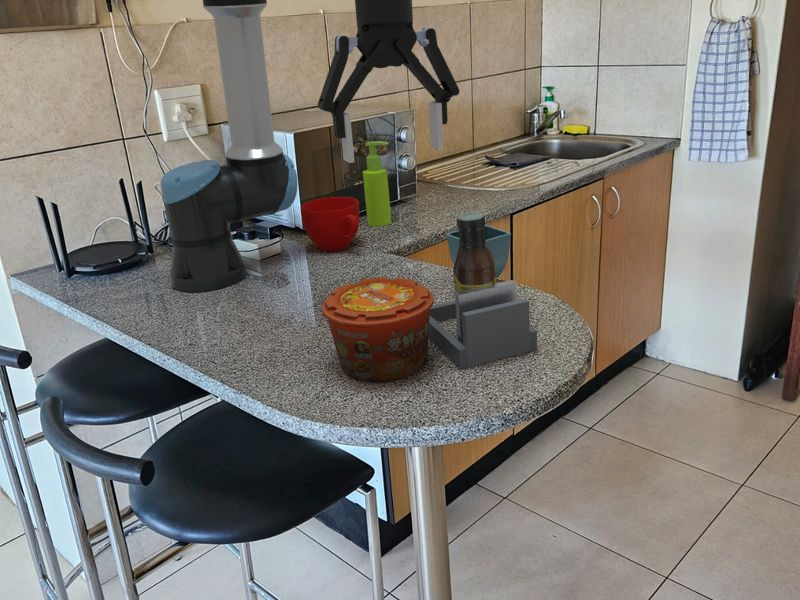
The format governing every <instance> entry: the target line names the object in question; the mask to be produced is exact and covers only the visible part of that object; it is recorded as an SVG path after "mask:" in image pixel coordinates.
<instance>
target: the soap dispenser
mask: <svg viewBox="0 0 800 600" xmlns="http://www.w3.org/2000/svg"><path fill="white" fill-rule="evenodd" d="M389 144H390V143H389V142H387V141H383V140H382V141H381V140H375V141H368V142H365V147H368V151H369V154H368V155H367V156H365V157H366V158H365V159H366V166H367V168H366V169H365V170H363V171H362V180H363V189H364V200H365V209H366V218H367V225H368V226H369V227H384V226H389V225H390V224H392V213H391V203H390V191H389V180H388V179H389V178H388V169H386V168H384V167H382V161H381V160H382V159H381V158H382V157H381V155H380V154H378V153H377V146H383V147H387V146H388V145H389Z"/></svg>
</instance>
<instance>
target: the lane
mask: <svg viewBox="0 0 800 600" xmlns="http://www.w3.org/2000/svg"><path fill="white" fill-rule="evenodd" d="M451 319H456V301H455V300H452V301H447V302H442V303H439V304H433V306H432V307H431V308H430V321H429V338H428V340H429V341H430V342H432V344H434V345H435V346H436V347H437V348H438V349H439V350H440V352H442V353H443V355H445V356H446V357H447V358H448V359H449V360H451V362H452V363H453V364H454V365H455V366H456V367H458V369H459V370H463V369H467V368H470V367H475V366H478V365H483V364H486V363H491V362H495V361H498V360H502V359H507V358H510V357H514V356H518V355H523V354H525V353H530V352H534V351H537V350H538V331H537V330H536V329H535V328H533V327H532V326H531V325H530V324H531V323H530V301H529V300H528V299H527V298H521V299H517V300H516V301H512V302H507V303H503V304H499V305H494V306H490V307H486V308H481V309H477V310H472V311H468V312H464V313H462V325H463V344H462V343H460V342H459V341H458V339H457V338H456V337H455V336H454V335H453V334H452V333H451V332H450V331H448V330H447V329H446V328H445V327H444V326H442V324H440V323H439V322H442V320H443V321H447V320H451ZM438 321H439V322H438Z"/></svg>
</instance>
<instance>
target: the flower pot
mask: <svg viewBox="0 0 800 600" xmlns="http://www.w3.org/2000/svg"><path fill="white" fill-rule="evenodd" d="M484 230H485V231H484V232H485V240H486V243H485V245H486V246H487V248H488V249H489V250H490V251H491V254H492V255H493V257H494V261H495V273H496V279H498V278H499V277H500V276H501V275H502V273H503V271H504V270H505V268H506V265H507V263H508V259H509V255H510V254H509V253H510V246H511V235H512V233H511V232H509V231H506V230H502V229H499V228H497V227H493V226H489V225H487V224H485V226H484ZM445 235H446V241H447V246H448V251H449V254H450V255H449V256H450V259H451V262H452V264H453V265H454V264H455V261H456V257H457V253H458V249H459V246H460V245H459V241H460V240H459V229H458V230H455V231H451V232H449V233H446V234H445Z"/></svg>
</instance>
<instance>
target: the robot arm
mask: <svg viewBox="0 0 800 600" xmlns="http://www.w3.org/2000/svg"><path fill="white" fill-rule="evenodd" d="M202 5H203V8H204V9H205V10H206V11H207V12H208V13H209V14H210V15H211V16H212V18H213V23H214V29H215V37H216V43H217V52H218V53H217V54H218V59H219V64H220V65H219V66H220V73H221V79H222V80H221V81H222V87H223V95H224V100H225V108H226V116H227V123H228V128H229V137H230V146H229V147H228V148H227V150H226V151H225V153H224V157H225V163H226V164H222V165H221V164H220V163H219V162H218V161H217V160H215V159H214V160H213V159H204V160H203V159H202V160H200V161H194V162H193V161H192V162H189V163H186V164H182V165H179V166H177V167H175V168H173V169H170V170H168V171H167V172H166V173H165V174H164V175H163V176H162V177H161V178H160V190H161V200H162V203H163V205H164V209H165V214H166V219H167V224H168V229H169V234H170V238H171V243H172V248H173V249H172V256H171V257H172V258H171V264H170V265H171V266H170V271H169V272H170V274H169V275H170V276H169V277H170V281H171V286H172V287H173V289H176V290H178V291H182V292H190V293H191V292H205V291H207V292H208V291H213V290H217V289H222V288H225V287H228V286H231V285H234V284H236V283H238V282H240V281H242V280H243V279H244V278H245V277H246V276H247V273H248V272H247V265H246V263H245V260H244V258H243V256H242V254H241V252H240V250H239V249H238V247H237V245H236V243H235V242H234V240H233V237H232V233H231V231H232V230H231V224H233V223H238V222H243V221H247V220H250V219H251V220H252V219H255V218H259V217H265V216H272V215H275V214H277V213H279V212H284V211H286V210H288V209H289V208H290V207H291V206H292V204H293V203H294V202H295V201H296V197H297V193H298V174H297V170H296V169H295V165H294V162H293V159H291V158H290V156H289V155H287V154H284V150H283V147H281V146H280V145H279V144H277V142H276V141H275V137H274V127H273V119H272V117H273V116H272V109H271V102H270V101H271V100H270V92H269V91H270V89H269V83H268V74H267V64H266V56H265V46H264V40H263V39H264V38H263V32H262V31H263V30H262V29H263V28H262V22H261V21H262V20H261V13H262V12H263V11H264V10H265V8H266V7H267V5H268V2H267V0H202ZM354 7H355V17H356V19H355V20H356V27H357V32H356V36H355V37H354V36H346V35H336V36H335V38H334V54H333V58H332V61H331V63H330V67H329V70H328V72H327V75H326V79H325V82H324V84H323V86H322V90H321V93H320V96H319V99H318V102H317V108H318V109H319V110H321V111H324V112H326V113H327V112H328V113H330V114H331V116H332V124H333V125H332V126H333V134H334V136H335V138H336V139H339V140H340V139H341V146H342V147H341V148H342V149H341V150H342V159H343V161H345V162H347V163H348V164H351V163H355V151H354V142H353V131H352V120H351V114H350V113H347V112H346V110H347V108H348V107H349V106H350V103H351V101H352V100H353V99H354V97H355V95H356V94H357V92H358V91H359V89H360V87H361V86H362V84H363V83H364V81H365V80H366V78H367V77H368V75H369V74H370V73H371V72H372V71H373V70H374V68H375V69H386V68H388V67H402V65H403V66H404V67H406V69H408V70H409V71H410V73H411V74H412V75H413V76H414V77H415V78H416V80H417V82H419V83H420V84H421V86H423V88H424V89H425V90H426V91H427V93H429V95H430V96H431V97H432V98H433V99H434V100H433V101H428V111H429V112H428V113H429V130H430V132H429V133H430V147H431V148H433V149H436V150H438V151H440V150H444V134H443V132H444V131H443V128H444V127H443V125H447V124H448V103H449V102H450V100H451V99H452V98H453V97H456V96H458V95H459V94H460V87H459V86H458V84H457V82H456V79H455V78H454V75H453V74H452V72H451V70H450V68H449V66H448V64H447V62H446V59H445V58H444V55H443V54H442V51H441V49H440V48H439V45H438V40H437V32H436V30H435V28H433V27H423V28H422V29H421V30H418V31H415V29H414V25H413V24H414V23H413V22H414V15H413V13H414V11H413V0H354ZM416 43H418V44H419V46H421V47H423V51H424V53H425V55H426V57H427V60H428V61H429V63H430V65H431V67H432V69H433V71H434V73H435V75H436V77H437V79H438V82H439V83H440V84H439V83H438V82H437V81H436V79H435V78H434V77H433V76H432V74H430V72H429V71H428V70H427V69H426V67H425V66H424V65H423V63H421V61H420V59H419V58H418V57H417V55H416V54H415V53H414V52H413V51H412V50H413V48H414V46H415V45H416ZM355 47H356V48H357V50H358V51H359V52H360V53H361V56H360V57H359V58H358V60H357V62H356V64H355V68H354V69H353V70H352V72H351V74H350V75H349V77H348V78H347V80H346V82H345V83H344V85H343V87H342V88H341V89H340V92H338V89H339V86H340V83H341V80H342V78H343V74H344V71H345V68H346V65H347V62H348V60H349V59H348V58H349V55H350V54H351V53H353V50H354V48H355ZM337 92H338V95H337ZM336 95H337V96H336Z"/></svg>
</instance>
